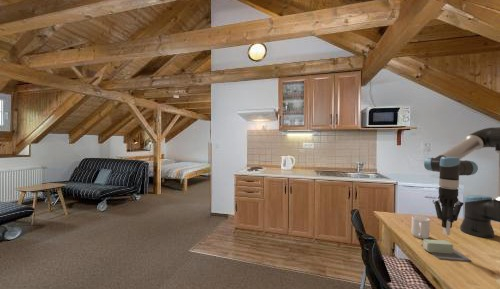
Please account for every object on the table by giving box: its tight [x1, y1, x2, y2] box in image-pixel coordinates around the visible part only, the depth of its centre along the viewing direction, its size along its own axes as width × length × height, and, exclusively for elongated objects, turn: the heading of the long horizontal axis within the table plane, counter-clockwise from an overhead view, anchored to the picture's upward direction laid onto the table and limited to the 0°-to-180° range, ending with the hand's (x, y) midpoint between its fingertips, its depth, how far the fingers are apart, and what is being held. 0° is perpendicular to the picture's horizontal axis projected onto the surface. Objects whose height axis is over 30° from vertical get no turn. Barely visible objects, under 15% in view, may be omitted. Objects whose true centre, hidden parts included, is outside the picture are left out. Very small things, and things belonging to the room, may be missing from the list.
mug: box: [410, 215, 431, 240], centre depth 136 cm, size 9×12×11 cm
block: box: [422, 238, 454, 254], centre depth 118 cm, size 4×4×11 cm
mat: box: [420, 244, 472, 262], centre depth 117 cm, size 14×14×1 cm
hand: (446, 233), depth 117 cm, fingers closed
